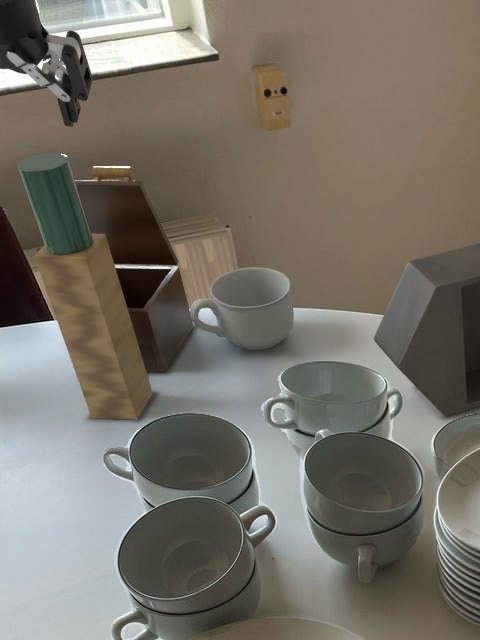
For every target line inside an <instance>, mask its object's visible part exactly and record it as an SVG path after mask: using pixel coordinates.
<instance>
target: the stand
mask: <svg viewBox="0 0 480 640" xmlns="http://www.w3.org/2000/svg"><path fill="white" fill-rule="evenodd" d="M92 237H93V240H94V241H93V244H92V245H91V246H90V247H89V248H87V249H85V250H83V251H80V252H77V253H73V254H65V255H60V254H53V253H50V252H49V251H48V250H47V249H46V246H45V244H44V245H43V246H42V247H41V248H40V249H39V250H37V252H36V253H35V254H34V255H33V256H34V260H35V263H36V266H37V268H38V271H39V274H40V277H41V279H42V282H43V285H44V288H45V290H46V294H47V297H48V299H49V302H50V305H51V308H52V310H53V313H54V316H55V319H56V321H57V325H58V327H59V330H60V334H61V336H62V338H63V341H64V344H65V347H66V350H67V353H68V355H69V359H70V361H71V364H72V367H73V370H74V372H75V375H76V378H77V381H78V383H79V386H80V389H81V393H82V395H83V397H84V401H85V404H86V406H87V408H88V412H89V414H90V418H91V419H110V420H111V419H112V420H138V419H139V417H140V416H141V414H142V412H143V411H144V409H145V408H146V406H147V404H148V402H149V401H150V400H151V398H152V396H153V395H154V391H153V389H152V386H151V383H150V380H149V376H148V372H146V369H145V366H144V362H143V359H142V356H141V352H140V349H139V346H138V342H137V339H136V335H135V332H134V329H133V325H132V322H131V319H130V315H129V312H128V309H127V305H126V302H125V299H124V295H123V292H122V289H121V285H120V282H119V279H118V275H117V272H116V268H115V265H116V264H114V262H113V258H112V255H111V252H110V248H109V245H108V242H107V238H106V235H105V234H92Z"/></svg>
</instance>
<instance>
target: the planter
mask: <svg viewBox="0 0 480 640" xmlns="http://www.w3.org/2000/svg"><path fill="white" fill-rule="evenodd" d="M373 342H375V344H377V346H378V347H379V348H380V349H381V350H382V352H383V353H384V354H385V355H386V356H387V358H389V360H390V361H391V362H392V363H393V364H394V366H395V367H396V368H397V369H398V370H399V371H400V372H401V373H402V375H404V377H406V378H407V379H408V381H409V382H411V384H412V385H413V386H414V387H415V388H416V389H417V390H418V391H419V392H420V393H421V394H422V395H423V396H424V397H425V398H426V399H427V400H428V401H429V402H430V403H431V404H432V405H433V406H434V407H435V408H436V409H437V410H438V412H439V413H441V415H442V416H444V417H448V416H452V415H455V414H459V413H461V412H462V413H463V412H465V411H468V410H471V409H475V408H478V407H480V242H479V243H474V244H470V245H466V246H463V247H459V248H454V249H451V250H447V251H443V252H439V253H434V254H432V255H431V254H430V255H428V256H424V257H419V258H416V259H412V260H409V261H408V262H407V264H406V266H405V269H404V270H403V273H402V275H401V277H400V279H399V281H398V284H397V286H396V287H395V290H394V292H393V295H392V296H391V299H390V301H389V303H388V305H387V308H386V310H385V311H384V314H383V316H382V318H381V320H380V323H379V325H378V327H377V329H376V332H375V334H374V336H373Z"/></svg>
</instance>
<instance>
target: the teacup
mask: <svg viewBox="0 0 480 640" xmlns="http://www.w3.org/2000/svg"><path fill="white" fill-rule="evenodd" d="M209 287H210V288H209V293H210V297H211V299H210V298H199V299H197V300H195V301H194V302H193V303H192V304H191V306H190V308H189V310H190V317H191V319H192V322H193V325H194V326H196V327H197V328H199V329H200V330H202V331H203V332H204V331H205V332H206V333H210V334H215V335H216V336H217V337H218V338H220V339H224V338H225V339H226V340H227V341H229V343H230V342H231V343H232V344H233V345H236V346H237V347H239V348H242V349H245V350H249V351H250V350H251V351H262V350H267V349H270V348H273V347H275V346H277V345H279V344H280V343H281V342H282V341H283V340H284V339H285V338H286V337H287V336H289V334H290V333H291V332H292V329H293V326H294V321H295V319H294V318H295V314H294V313H295V312H294V311H295V310H294V303H293V295H292V291H291V290H292V283H291V280H290V278H289V277H288V276H287V275H285V274H284V273H283V272H281V271H279V270H275V269H272V268H268V267H261V266H260V267H258V266H257V267H256V266H254V267H242V268H238V269H233V270H231V271H228V272H224V273H223V274H221V275H220V276H218V277H216V278H215V279H214V280H213V281H212V283H211V284H210V286H209ZM204 308H208V309H210V310H211V312H212V314H213V315H214V316H215V319H216V322H217V324H210V323H206V322H204V321H202V320H201V319H200V317H199V313H200V311H201V310H202V309H204Z"/></svg>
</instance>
